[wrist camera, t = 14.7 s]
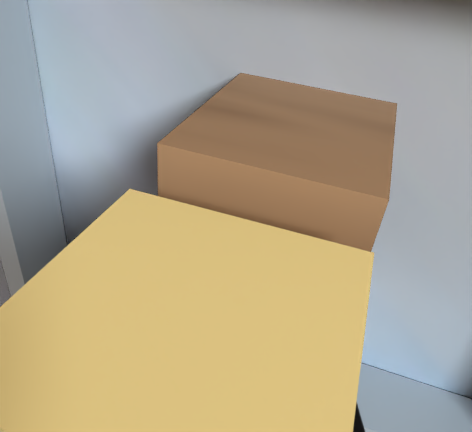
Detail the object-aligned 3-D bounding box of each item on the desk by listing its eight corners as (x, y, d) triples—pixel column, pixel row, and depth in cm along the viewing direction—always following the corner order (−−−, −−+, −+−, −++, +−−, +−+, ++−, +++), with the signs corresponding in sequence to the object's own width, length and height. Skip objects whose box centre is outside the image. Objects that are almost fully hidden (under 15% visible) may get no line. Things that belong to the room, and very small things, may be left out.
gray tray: (973, -79, 8) (1204, -82, 6) (523, 432, 18) (539, 506, 16) (-28, -168, 13) (-126, -189, 11) (56, 276, 23) (16, 315, 21)
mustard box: (313, 430, 11) (260, 698, 7) (141, 368, 12) (15, 573, 8) (373, 252, 8) (336, 573, 4) (129, 189, 9) (-91, 390, 5)
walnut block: (343, 273, 17) (317, 403, 13) (224, 239, 18) (159, 348, 14) (397, 102, 13) (389, 199, 9) (241, 72, 14) (157, 143, 10)
